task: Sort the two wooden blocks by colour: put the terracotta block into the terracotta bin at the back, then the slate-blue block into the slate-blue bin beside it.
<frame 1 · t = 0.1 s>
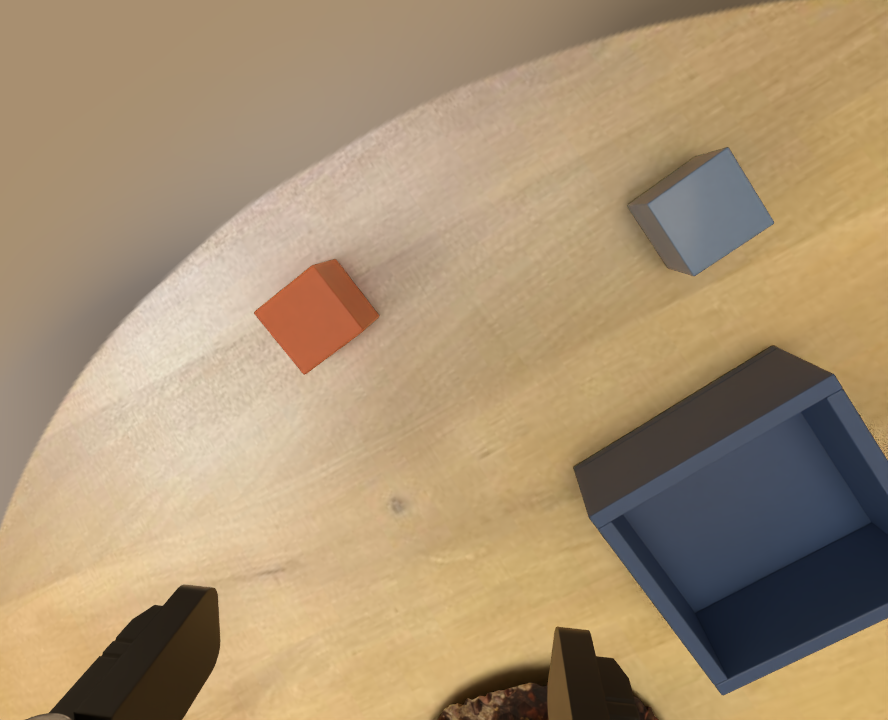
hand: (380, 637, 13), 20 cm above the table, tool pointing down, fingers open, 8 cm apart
blue bin: (726, 493, 32), on the table
terracotta block: (330, 308, 31), on the table
blue block: (681, 213, 28), on the table
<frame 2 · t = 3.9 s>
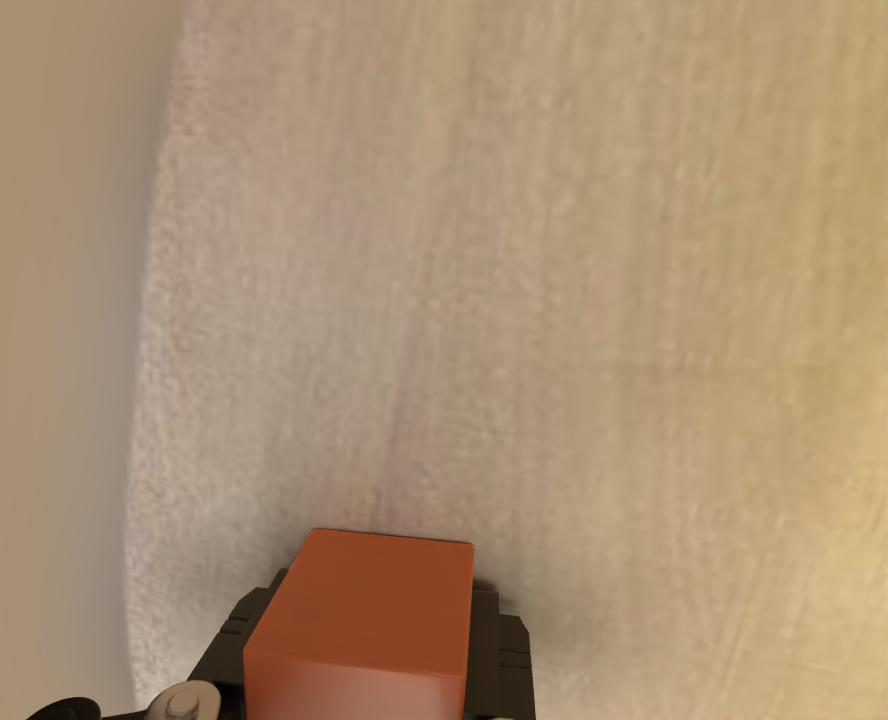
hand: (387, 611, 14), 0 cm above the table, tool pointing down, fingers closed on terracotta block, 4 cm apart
terracotta block: (390, 604, 14), on the table, touching gripper
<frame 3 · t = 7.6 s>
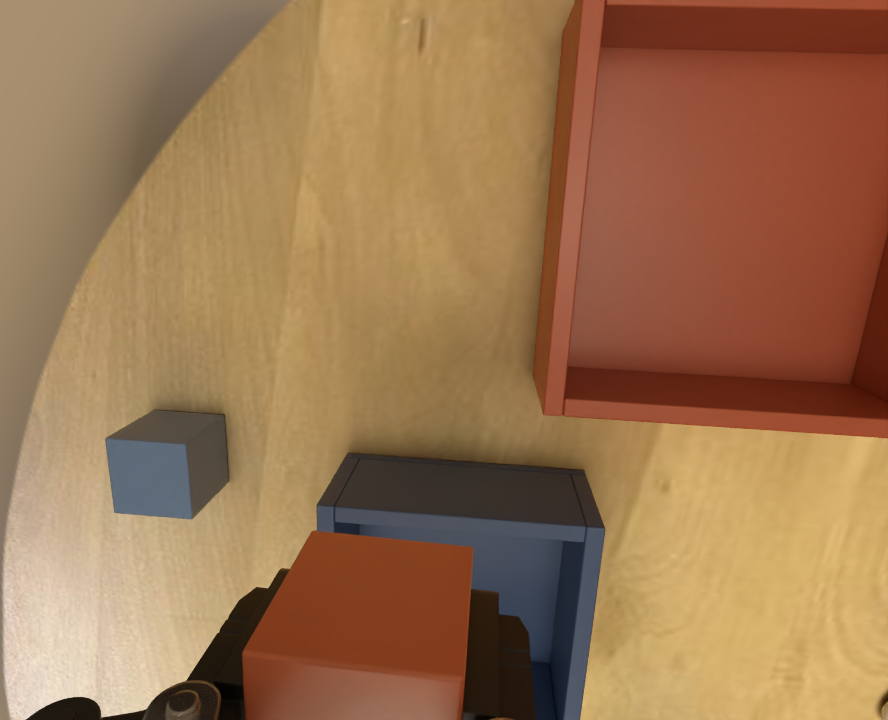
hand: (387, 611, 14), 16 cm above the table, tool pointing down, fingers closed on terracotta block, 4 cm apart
blue bin: (458, 564, 31), on the table
terracotta block: (389, 606, 14), point 15 cm above the table, touching gripper
terracotta bin: (718, 224, 25), on the table
blue block: (191, 445, 31), on the table
when the fingers open (5 cm above the table, at t = 11.5 s): terracotta block drops 4 cm, resting on terracotta bin.
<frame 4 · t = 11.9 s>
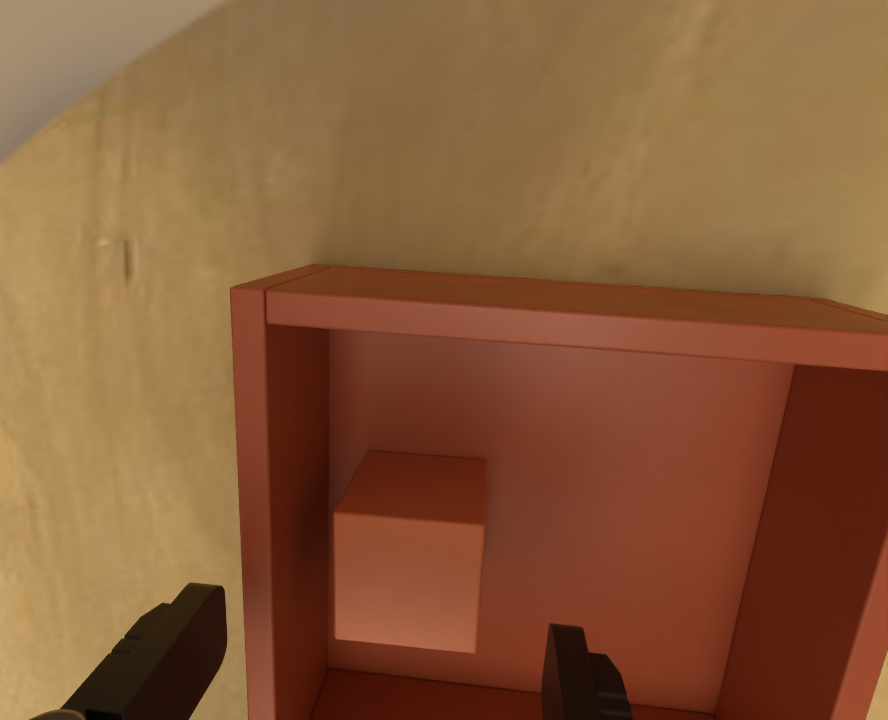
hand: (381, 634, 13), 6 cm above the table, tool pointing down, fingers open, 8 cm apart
terracotta block: (424, 508, 19), point 1 cm above the table, touching terracotta bin
terracotta bin: (534, 509, 19), on the table
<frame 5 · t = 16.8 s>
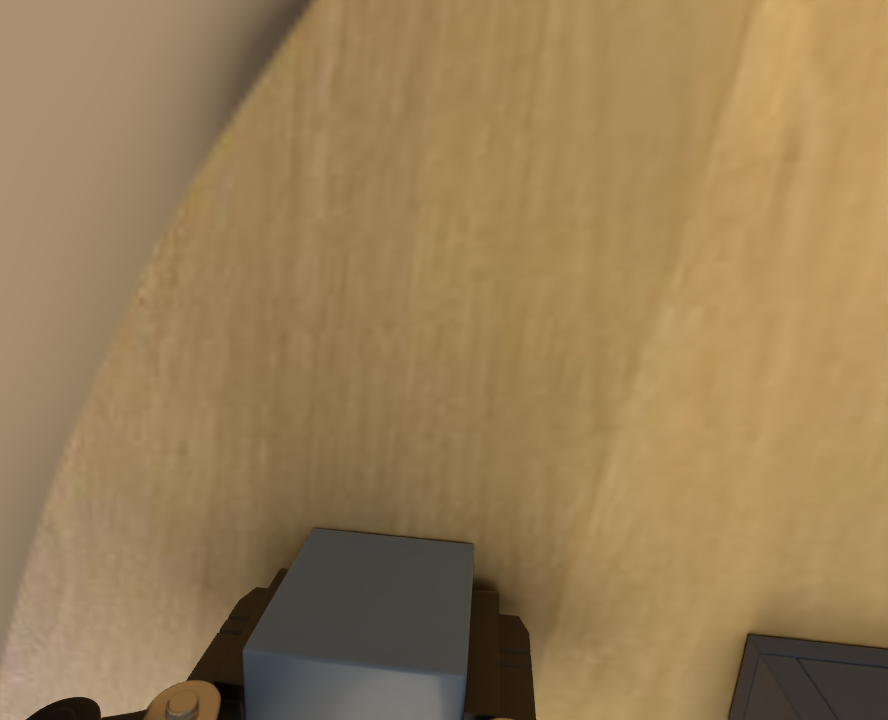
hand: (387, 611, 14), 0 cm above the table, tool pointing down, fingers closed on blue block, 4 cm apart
blue block: (390, 604, 14), on the table, touching gripper
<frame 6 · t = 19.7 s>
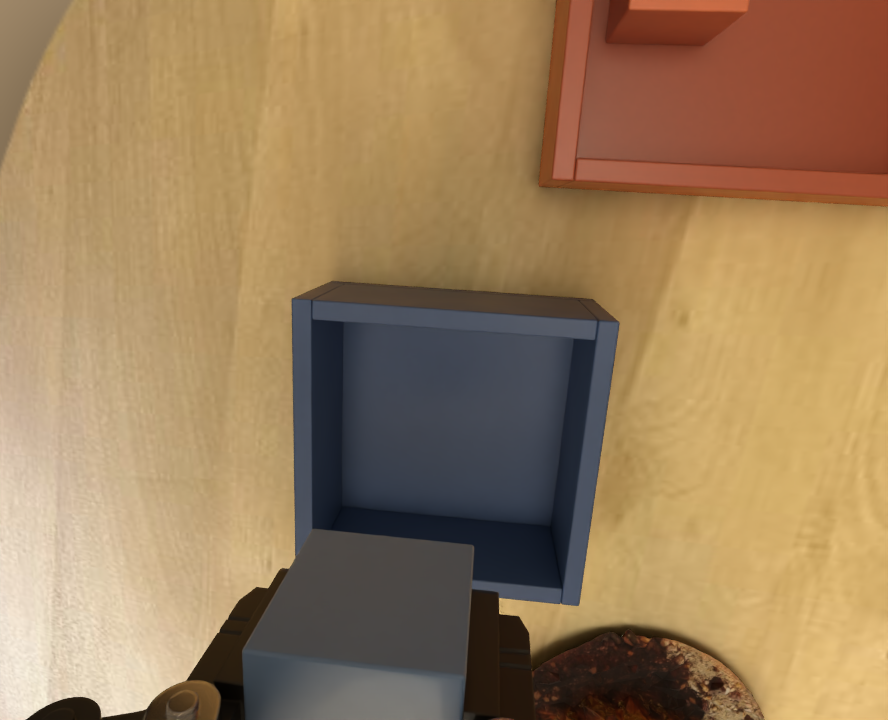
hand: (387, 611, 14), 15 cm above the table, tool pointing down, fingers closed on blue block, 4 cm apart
blue bin: (452, 413, 28), on the table
blue block: (389, 605, 14), point 15 cm above the table, touching gripper
when the fingers open (5 cm above the table, at t = 22.5 s): blue block drops 4 cm, resting on blue bin.
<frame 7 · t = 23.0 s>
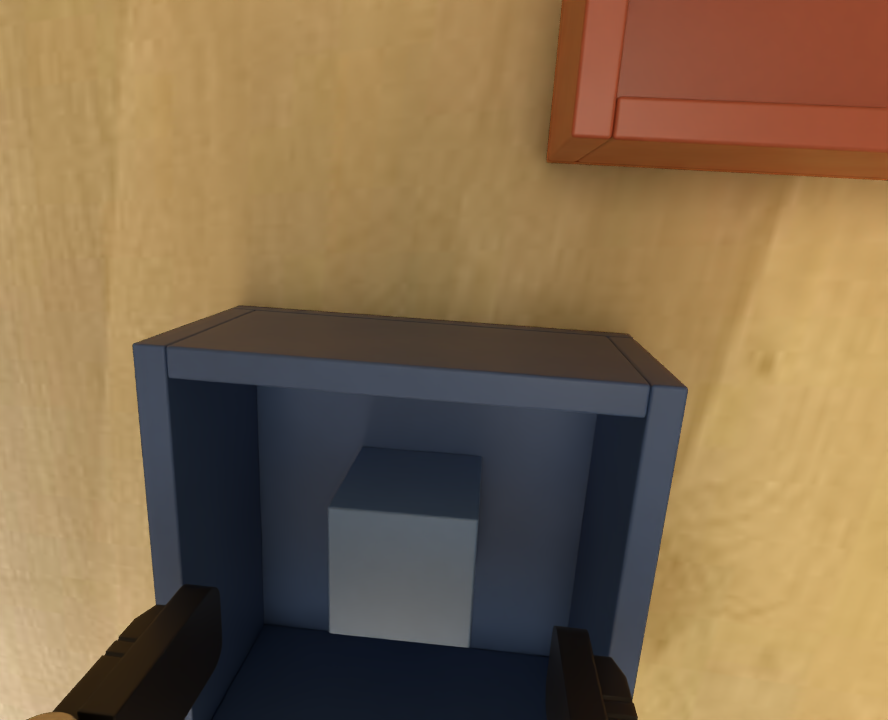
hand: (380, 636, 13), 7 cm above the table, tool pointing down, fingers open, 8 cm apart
blue bin: (420, 496, 19), on the table
blue block: (419, 505, 19), point 1 cm above the table, touching blue bin
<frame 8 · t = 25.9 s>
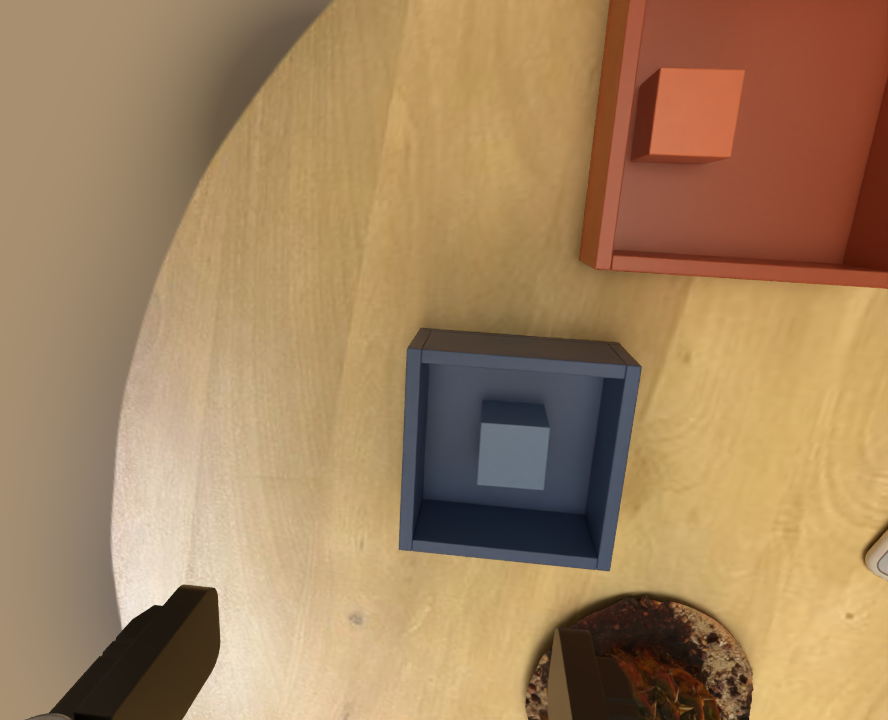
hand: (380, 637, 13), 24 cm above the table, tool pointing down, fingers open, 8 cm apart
blue bin: (509, 427, 37), on the table
terracotta block: (671, 125, 31), point 1 cm above the table, touching terracotta bin
cactus: (633, 688, 42), on the table
terracotta bin: (735, 129, 31), on the table
blue block: (510, 431, 36), point 1 cm above the table, touching blue bin
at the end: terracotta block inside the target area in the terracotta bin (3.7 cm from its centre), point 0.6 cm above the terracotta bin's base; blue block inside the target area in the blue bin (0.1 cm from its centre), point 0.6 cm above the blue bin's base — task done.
